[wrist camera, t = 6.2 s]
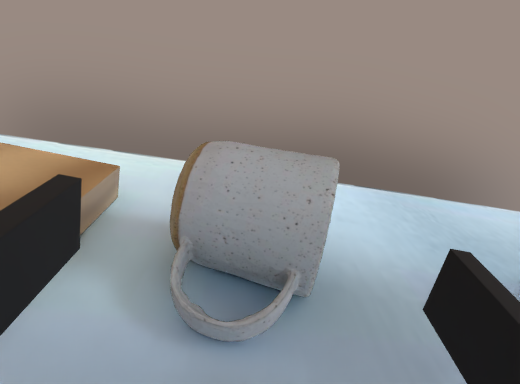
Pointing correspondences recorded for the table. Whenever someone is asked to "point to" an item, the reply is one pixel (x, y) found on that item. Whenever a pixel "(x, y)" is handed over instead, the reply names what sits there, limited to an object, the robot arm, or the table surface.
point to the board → (48, 166)
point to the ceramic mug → (250, 226)
